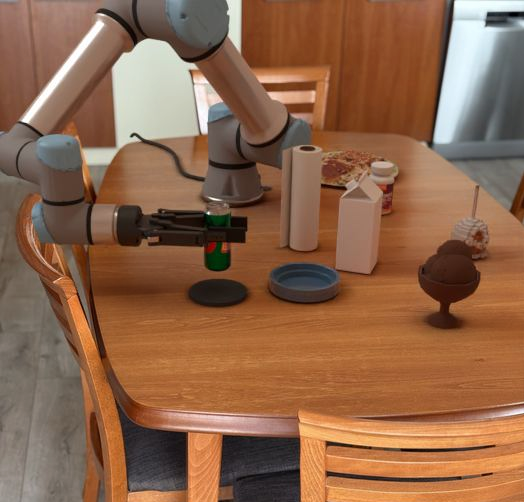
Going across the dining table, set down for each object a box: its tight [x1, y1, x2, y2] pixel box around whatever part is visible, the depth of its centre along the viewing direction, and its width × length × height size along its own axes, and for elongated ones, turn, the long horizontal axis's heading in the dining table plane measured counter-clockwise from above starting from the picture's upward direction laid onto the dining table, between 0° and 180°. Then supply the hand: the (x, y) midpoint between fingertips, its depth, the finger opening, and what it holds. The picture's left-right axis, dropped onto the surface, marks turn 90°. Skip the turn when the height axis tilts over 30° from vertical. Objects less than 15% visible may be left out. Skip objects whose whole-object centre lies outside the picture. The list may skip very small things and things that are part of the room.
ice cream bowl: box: [417, 239, 482, 329], centre depth 150 cm, size 11×11×15 cm
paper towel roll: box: [279, 145, 323, 252], centre depth 179 cm, size 7×6×21 cm
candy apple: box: [449, 184, 491, 260], centre depth 178 cm, size 8×8×15 cm
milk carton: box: [334, 170, 383, 275], centre depth 170 cm, size 7×7×19 cm
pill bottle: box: [368, 162, 395, 216], centre depth 202 cm, size 6×6×11 cm
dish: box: [268, 261, 342, 303], centre depth 164 cm, size 13×13×3 cm
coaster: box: [188, 278, 248, 308], centre depth 162 cm, size 11×11×1 cm
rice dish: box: [321, 148, 400, 187], centre depth 229 cm, size 28×28×5 cm
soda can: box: [202, 202, 232, 273], centre depth 156 cm, size 5×5×12 cm
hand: (246, 229), depth 155 cm, fingers closed on soda can, 5 cm apart
